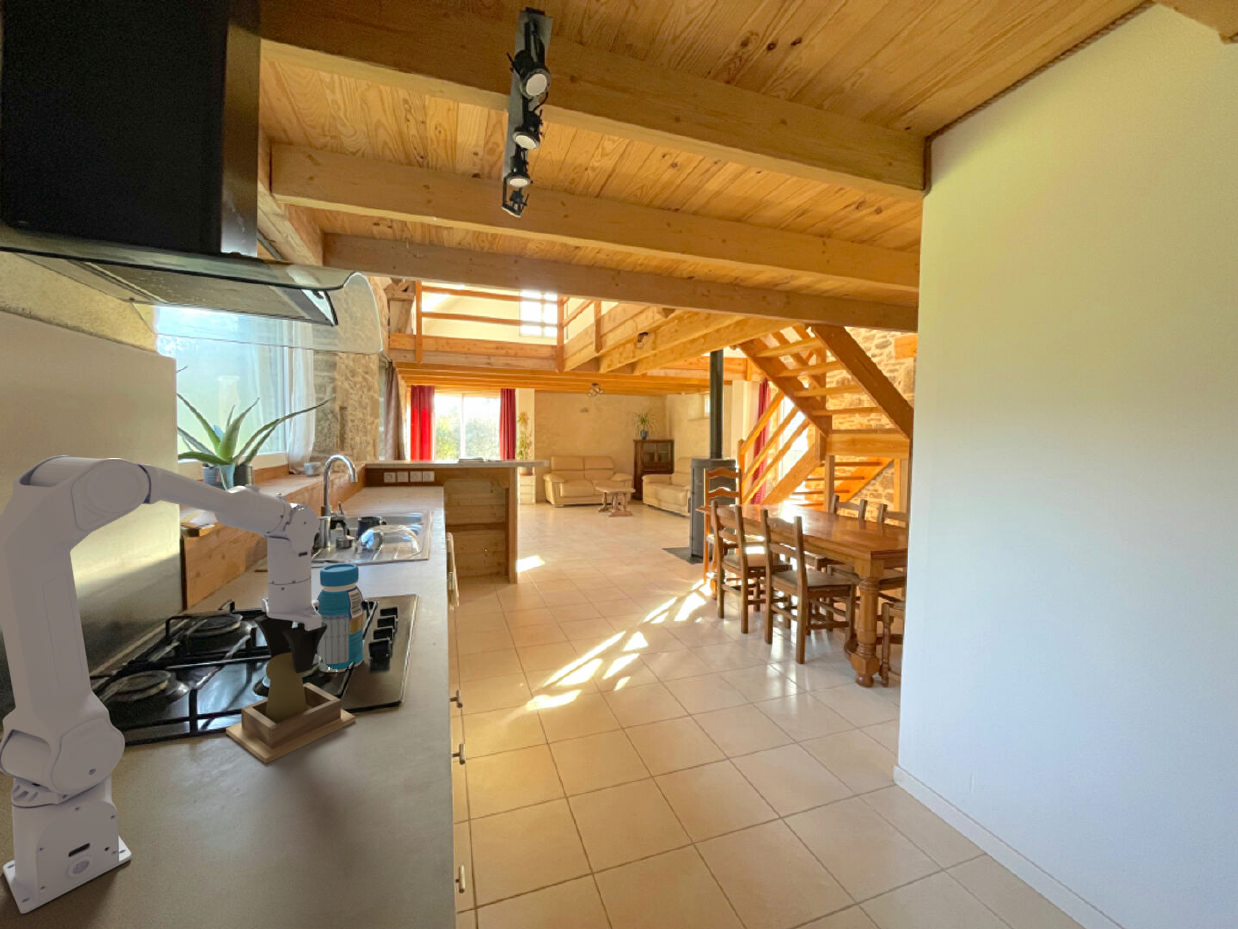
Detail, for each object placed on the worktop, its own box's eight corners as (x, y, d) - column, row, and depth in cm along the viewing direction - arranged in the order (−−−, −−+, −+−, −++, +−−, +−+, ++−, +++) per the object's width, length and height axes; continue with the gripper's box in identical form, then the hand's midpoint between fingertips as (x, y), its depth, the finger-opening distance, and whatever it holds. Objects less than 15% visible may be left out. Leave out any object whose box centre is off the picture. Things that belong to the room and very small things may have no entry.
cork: (317, 714, 83) (317, 649, 82) (289, 736, 77) (288, 666, 76) (284, 711, 84) (283, 646, 83) (253, 732, 78) (252, 662, 77)
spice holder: (355, 721, 83) (354, 698, 83) (265, 764, 72) (265, 738, 72) (313, 697, 90) (313, 676, 90) (226, 733, 79) (225, 709, 79)
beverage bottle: (320, 679, 96) (319, 575, 95) (312, 663, 103) (311, 565, 102) (368, 667, 102) (367, 568, 101) (358, 652, 108) (357, 559, 107)
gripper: (341, 581, 79) (341, 666, 80) (294, 566, 87) (295, 644, 87) (292, 592, 73) (293, 684, 74) (246, 575, 81) (248, 659, 81)
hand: (291, 664), depth 80 cm, fingers open, 7 cm apart
